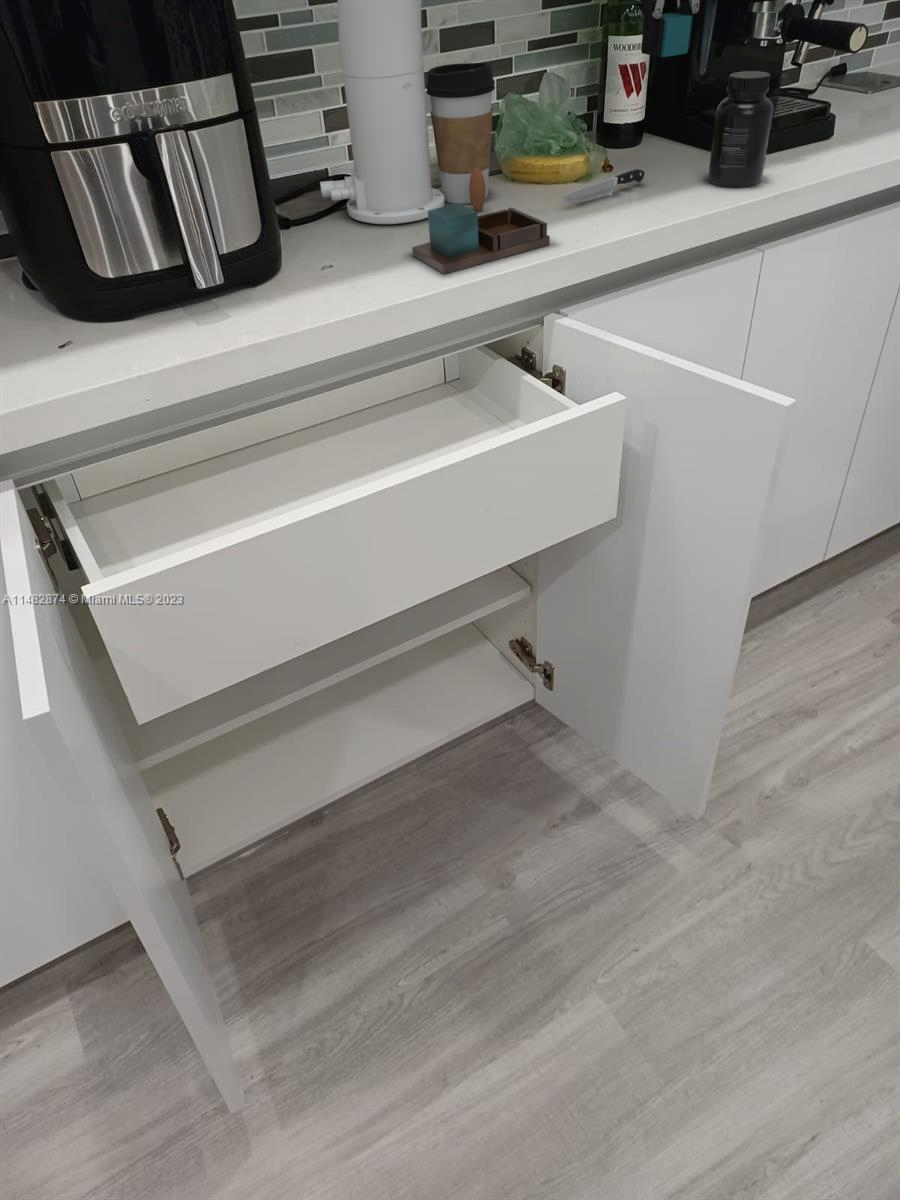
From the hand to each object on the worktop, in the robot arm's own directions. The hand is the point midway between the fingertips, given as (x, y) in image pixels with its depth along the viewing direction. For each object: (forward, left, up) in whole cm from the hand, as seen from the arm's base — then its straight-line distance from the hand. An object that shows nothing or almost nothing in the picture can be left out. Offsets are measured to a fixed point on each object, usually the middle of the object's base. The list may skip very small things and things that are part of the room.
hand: (665, 50), depth 112 cm
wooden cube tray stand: (-29, -26, -13) cm, 41 cm away
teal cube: (0, 0, 0) cm, 0 cm away
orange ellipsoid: (-27, -12, -14) cm, 33 cm away
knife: (-11, -12, -14) cm, 21 cm away
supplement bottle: (+7, -11, -14) cm, 19 cm away
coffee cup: (-28, -6, -14) cm, 31 cm away
